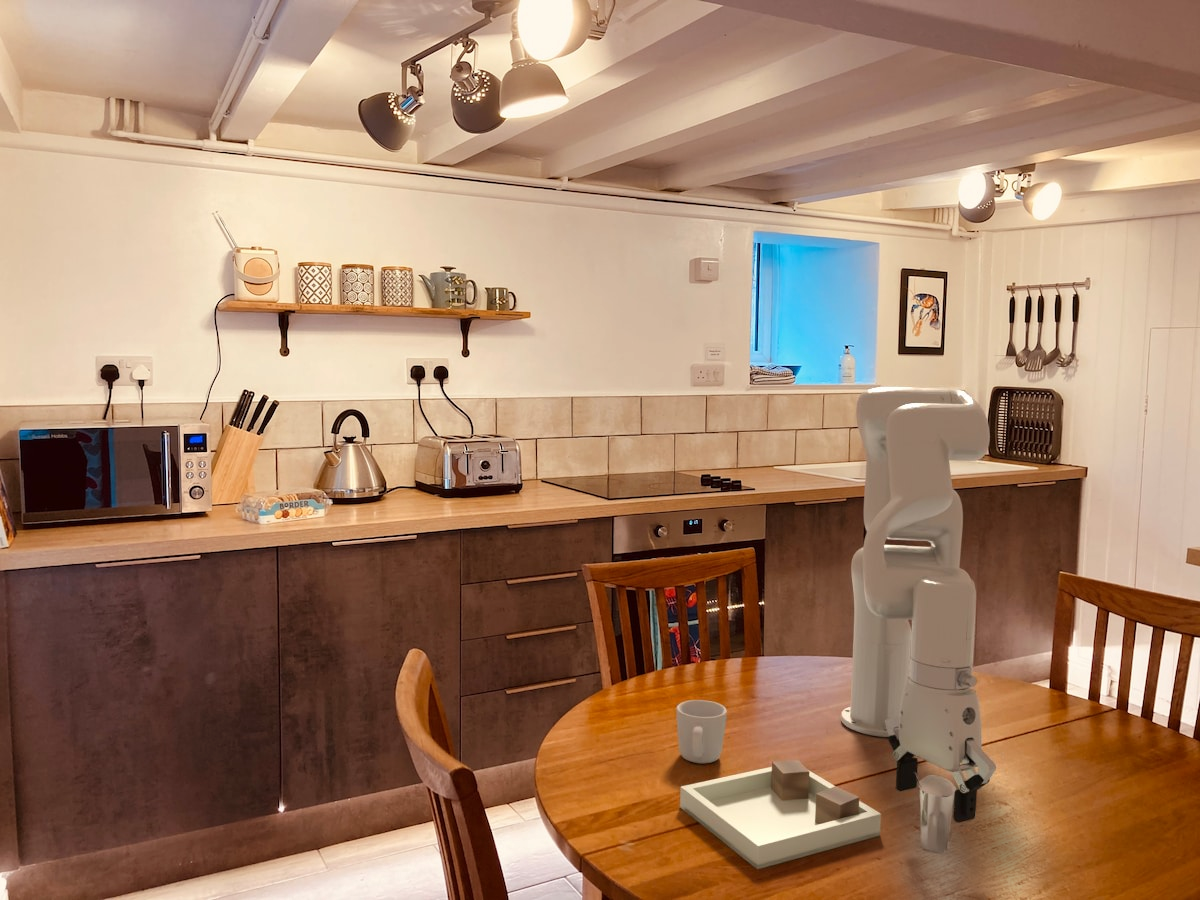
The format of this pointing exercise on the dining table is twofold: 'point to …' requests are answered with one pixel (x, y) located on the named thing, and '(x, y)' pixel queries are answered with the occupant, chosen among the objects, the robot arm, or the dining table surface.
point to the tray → (771, 818)
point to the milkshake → (935, 811)
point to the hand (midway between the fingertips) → (934, 804)
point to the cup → (701, 730)
